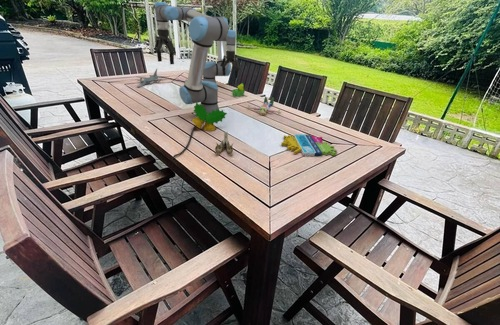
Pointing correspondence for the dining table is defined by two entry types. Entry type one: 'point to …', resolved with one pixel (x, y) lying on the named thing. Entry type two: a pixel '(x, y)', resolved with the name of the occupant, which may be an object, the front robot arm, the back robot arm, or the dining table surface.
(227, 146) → the jawbone
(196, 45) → the front robot arm
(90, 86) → the dining table surface
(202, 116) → the ornament
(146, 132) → the dining table surface
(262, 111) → the toy
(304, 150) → the colourful gloves pack
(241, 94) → the green box with toys
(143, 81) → the airplane
